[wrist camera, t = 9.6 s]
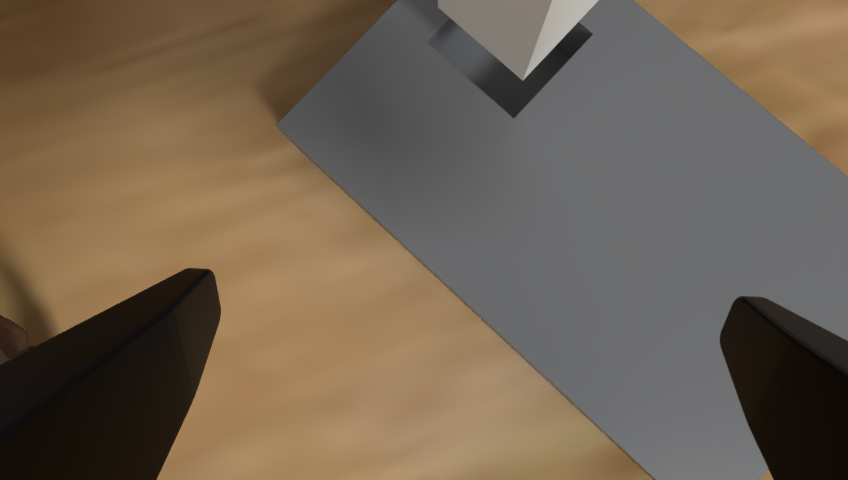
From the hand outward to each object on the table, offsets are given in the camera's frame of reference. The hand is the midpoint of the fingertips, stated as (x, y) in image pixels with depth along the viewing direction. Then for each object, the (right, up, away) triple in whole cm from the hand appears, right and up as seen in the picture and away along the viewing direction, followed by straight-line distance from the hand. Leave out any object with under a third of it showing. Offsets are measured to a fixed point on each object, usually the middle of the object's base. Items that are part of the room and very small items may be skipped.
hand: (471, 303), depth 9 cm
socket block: (+5, +2, +12) cm, 14 cm away
